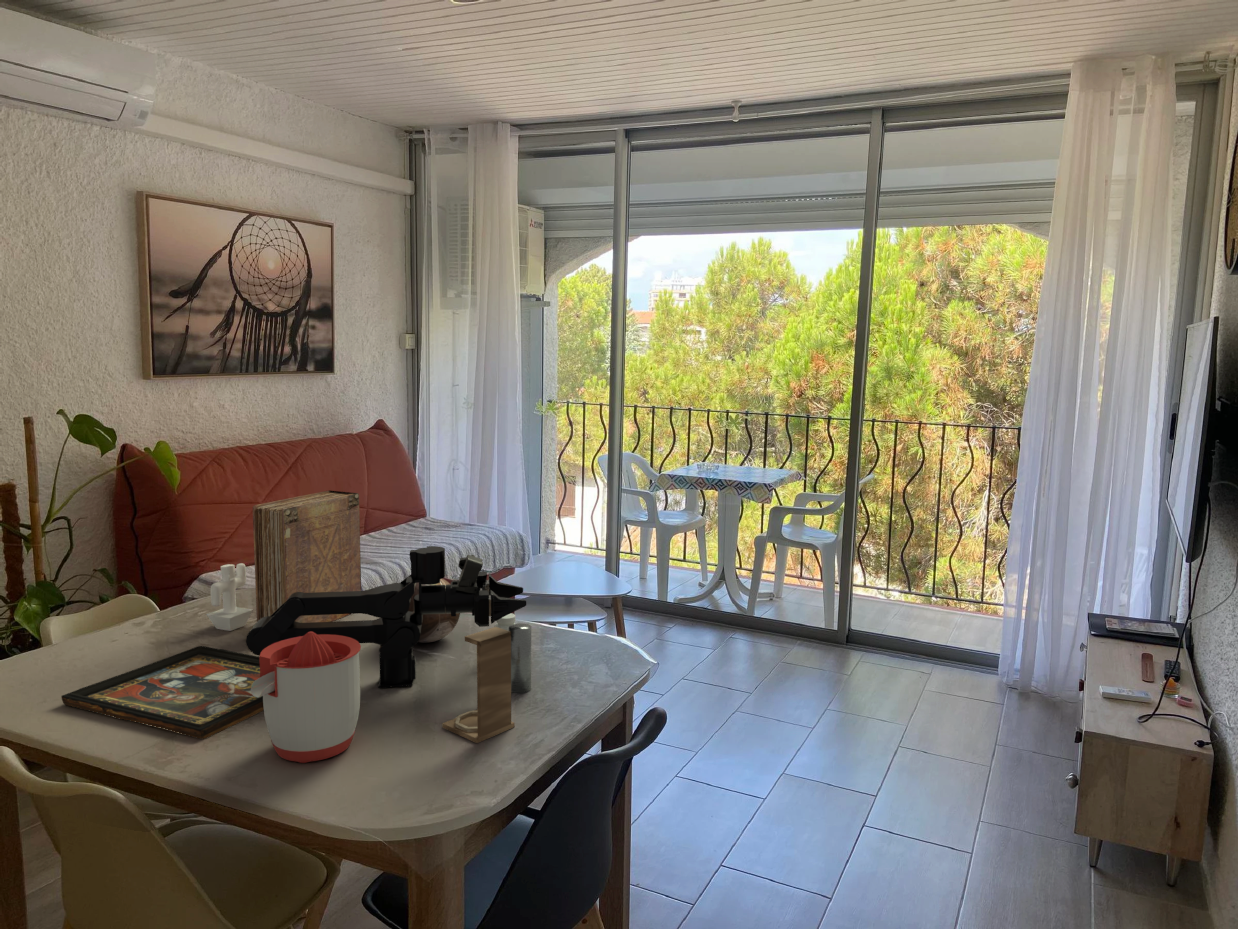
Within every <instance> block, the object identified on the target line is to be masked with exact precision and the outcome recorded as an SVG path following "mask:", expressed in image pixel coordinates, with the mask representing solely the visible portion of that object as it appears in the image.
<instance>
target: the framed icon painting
mask: <svg viewBox="0 0 1238 929" xmlns="http://www.w3.org/2000/svg"><path fill="white" fill-rule="evenodd" d="M258 678H260V660H259V656H258V655H254V654H248V653H244V652H243V653H242V652H237V651H231V650H228V649H223V648H216V647H211V646H205V645H198V646H195V647H193V648H190V649H187V650H184V651H182V652H179V653H176V654H173V655H171V656H168V657H165V658H162V659H160V660H157V661H154V662H152V663H149V664H145V665H144V666H140V667H138V668H135V669H132V670H130V671H127V672H123V673H121V674H119V675H115V676H113V677H109V678H107V679H104V680H102V681H99V682H96V683H93V684H92V683H91V684H90V685H86V686H84V687H80V688H78V689H76V690H73V691H71V692H68V693H66V694H63V695H61V701H62V703H63V704H64V705H65V706H68V707H71V706H72V708H75V707H77V708H76V709H79V708H81V709H80V710H83V709H85V710H84V711H87V710H90V711H89V712H91V711H94V712H93V713H95V712H98V713H97V714H99V713H102V714H101V715H103V714H106V715H105V716H107V715H110V716H114V717H116V718H115V719H118V718H120V719H119V720H122V719H124V720H123V721H127V720H131V721H130V722H132V721H136V722H140V723H144V724H148V725H152V726H156V727H161V728H165V729H168V730H172V731H175V732H179V733H182V734H186V735H185V736H187V735H190V736H189V737H191V736H193V737H192V738H195V737H197V738H196V739H199V738H201V739H200V740H204V738H205V739H207V737H208V738H210V737H211V735H212V736H213V735H215V733H216V734H218V733H220V732H222V731H224V730H226V729H228V727H229V728H231V727H233V726H234V725H237V724H239V723H241V722H243V721H245V720H247V719H249V718H251V717H253V716H255V715H257V714H260V713H261V712H264V707H263V696H261V697H259V698H257V697H254V696H253V695H252V693H251V686H252V684H253V682H254V681H255V680H257V679H258ZM110 716H109V717H110ZM114 717H113V718H114ZM136 722H135V723H136ZM140 723H139V724H140ZM232 725H233V726H232ZM230 726H231V727H230ZM168 730H167V731H168ZM221 730H222V731H221ZM219 731H220V732H219ZM175 732H174V733H175ZM217 732H218V733H217ZM182 734H181V735H182Z"/></svg>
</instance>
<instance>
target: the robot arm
mask: <svg viewBox="0 0 1238 929" xmlns="http://www.w3.org/2000/svg"><path fill="white" fill-rule="evenodd" d="M409 561H410V574H409V575H408V576H406V578H404V579H403V580H401V581H400V582H393V583H388V584H383V585H378V586H376V587H372V588H370V589H366V590H361V591H345V592H315V593H303V592H295V593H293V594H291V595H290V597H289V598H288V599H287V601H286V602H285V603H283V604H282V605H281V606H280V607H279V608H278V609H277V610H276V611H275V612H274V613H273V614H272V615H271V616H267V617H263V618H261V619H260V620H259V621H258V622H257V621H256V623H255V624H254V625H253V627H252V628H251V629H250V630H249V632H248V633H247V636H246V639H245V644H246V646H247V648H248V650H249V651H250V652H251V653H252V655H254V656H260V653H261V652H262V651H263V649H265V648H266V647H268V646H269V645H272V644H274V643H276V642H279V641H282V640H286V639H289V638H294V637H299V636H304V635H305V634H306V633H308V632H310V631H311V632H314V633H316V634H317V635H321V634H329V635H341V636H346V637H350V638H353V639H355V640H357V641H358V642H359V643H360V644H376V645H379V647H378V648H379V649H378V653H379V655H378V656H379V659H378V660H379V661H378V662H379V664H378V666H379V682H378V688H380V689H381V688H396V687H397V688H398V687H400V688H401V687H412V686H413V685H414V681H415V680H416V678H417V657H416V655H414V651H413V650H414V647H415V646H416V645H417V644H418V643H419V642H418V641H419V639H420V632H421V626H422V620H423V614H445V612H446V614H451V616H456V613H460V614H471V616H472V617H473V618H474V623H475V624H476V625H477V626H478V627H479V628H480V627H490V624H491V625H492V624H494V623H495V622H497V620H499V619H501V618H502V617H504V616H506V615H508V614H510V613H512V614H513V613H514V612H516V611H518V610H520V609H523V608H525V607H526V606H527V600H526V599H521V598H513V597H515V596H519V595H521V594H523V593H524V587H522V586H518V585H513V584H510V583H509V584H508V583H504V582H501V581H497V579H495V578H494V577H493V575H492V574H491V573H487V571H482V569H483V565H484V562H483V561H484V559H482V558H479V557H478V556H477V557H476V555H475V554H466V557H460V558H459V562H458V568H459V569H460V570H461V571H460V574H459V578H458V579H453V580H452V581H450V585H446V590H445V585H433V584H438V583H440V579H445V578H446V548H445V547H443V546H436V545H435V546H433V545H427V546H426V547H420V548H417V549H411V550H409ZM487 579H488V580H487ZM416 583H419V594H418V595H416V596H415V597H414V611H413V612H410V611H408V610H409V607H410V602H411V597H412V596H413V594H414V591H415V586H416ZM422 584H425V585H422ZM332 614H350V615H355V614H356V615H357V614H362V615H363V614H364V615H369V616H372V617H374V618H376V619H370V620H369V619H367V620H366V619H363V620H343V621H341V620H340V621H337V620H335V621H333V622H310V623H299V622H296V621H295V620H296V619H297V618H298V617H299V616H305V615H332Z"/></svg>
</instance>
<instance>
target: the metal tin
mask: <svg viewBox="0 0 1238 929" xmlns="http://www.w3.org/2000/svg"><path fill="white" fill-rule="evenodd" d="M509 631H511V693H514V694H524V693H528V692H530V691H531V690H532V626H531V625H530V624H527V623H515V624H513V625H510V626H509Z"/></svg>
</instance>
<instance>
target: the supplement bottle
mask: <svg viewBox="0 0 1238 929" xmlns="http://www.w3.org/2000/svg"><path fill="white" fill-rule="evenodd" d="M513 624H516V614H514V613H513V612H512V613H510V614H508V615H506V616H504V617H502V618H501V619H499V620H497V621H496V623H495V624H494V626H493V627H498V628H501V629H504V630H507V631H509V626H510V625H513Z"/></svg>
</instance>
